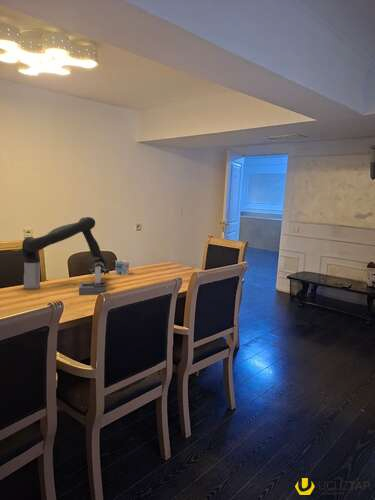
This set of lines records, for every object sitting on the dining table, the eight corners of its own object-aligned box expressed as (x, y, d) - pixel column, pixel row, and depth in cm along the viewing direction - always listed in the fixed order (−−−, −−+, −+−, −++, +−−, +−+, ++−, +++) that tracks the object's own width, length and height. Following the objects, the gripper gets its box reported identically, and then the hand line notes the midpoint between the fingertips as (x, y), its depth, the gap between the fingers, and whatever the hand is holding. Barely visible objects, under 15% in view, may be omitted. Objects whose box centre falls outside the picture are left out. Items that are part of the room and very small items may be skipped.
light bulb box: (115, 274, 275) (115, 261, 274) (115, 273, 282) (115, 260, 280) (129, 274, 278) (129, 261, 276) (128, 272, 284) (128, 260, 283)
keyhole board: (78, 294, 216) (78, 286, 216) (80, 289, 228) (80, 281, 227) (105, 294, 220) (105, 285, 219) (105, 289, 232) (105, 281, 231)
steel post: (92, 290, 221) (92, 267, 219) (93, 288, 227) (93, 266, 225) (102, 290, 222) (102, 267, 220) (102, 288, 228) (102, 266, 226)
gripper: (88, 263, 240) (86, 267, 224) (109, 263, 243) (109, 267, 227) (88, 273, 241) (86, 279, 225) (109, 273, 244) (109, 278, 228)
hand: (98, 273), depth 226 cm, fingers open, 8 cm apart
